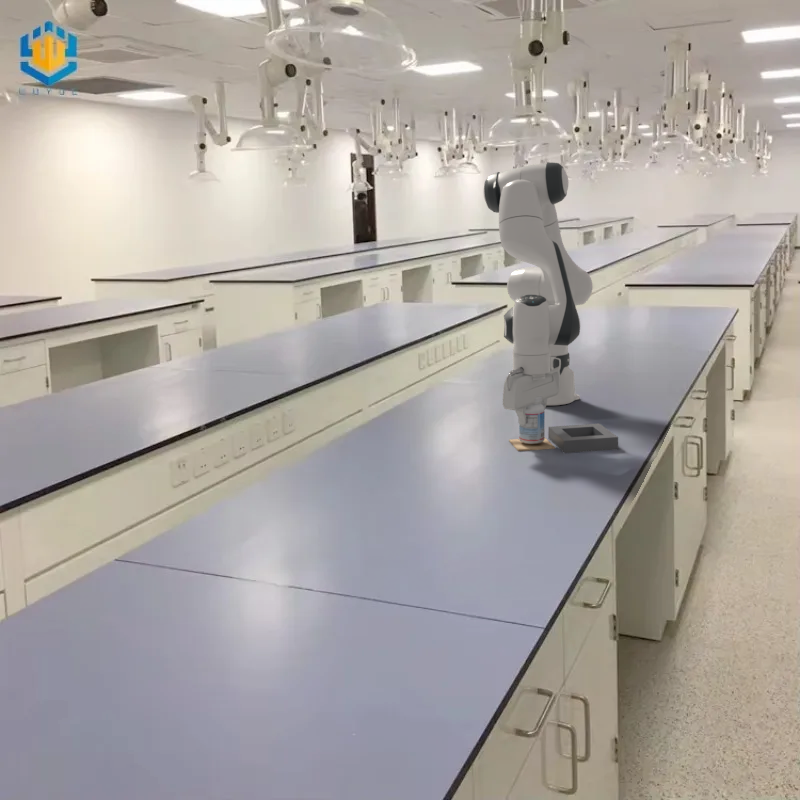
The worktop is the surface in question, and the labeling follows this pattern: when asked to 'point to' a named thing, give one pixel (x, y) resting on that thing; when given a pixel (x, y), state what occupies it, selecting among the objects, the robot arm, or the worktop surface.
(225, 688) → the worktop surface
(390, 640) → the worktop surface
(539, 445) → the cork pad
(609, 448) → the grey square bottle holder
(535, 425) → the pill bottle
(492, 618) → the worktop surface
